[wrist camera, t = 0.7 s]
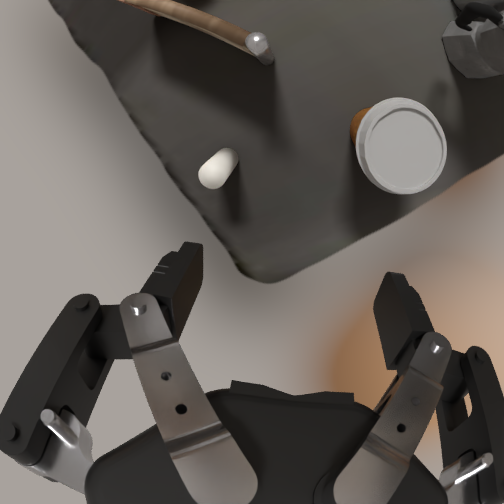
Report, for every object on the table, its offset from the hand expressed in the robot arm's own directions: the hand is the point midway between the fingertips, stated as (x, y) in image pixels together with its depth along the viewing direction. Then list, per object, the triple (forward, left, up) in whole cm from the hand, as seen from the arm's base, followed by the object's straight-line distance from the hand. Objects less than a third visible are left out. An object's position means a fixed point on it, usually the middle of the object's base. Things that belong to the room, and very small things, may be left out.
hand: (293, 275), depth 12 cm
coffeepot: (-28, +10, -27) cm, 41 cm away
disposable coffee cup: (-8, +7, -27) cm, 29 cm away
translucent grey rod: (-8, -9, -27) cm, 30 cm away
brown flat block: (-8, -18, -26) cm, 33 cm away
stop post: (+6, -6, -27) cm, 28 cm away
